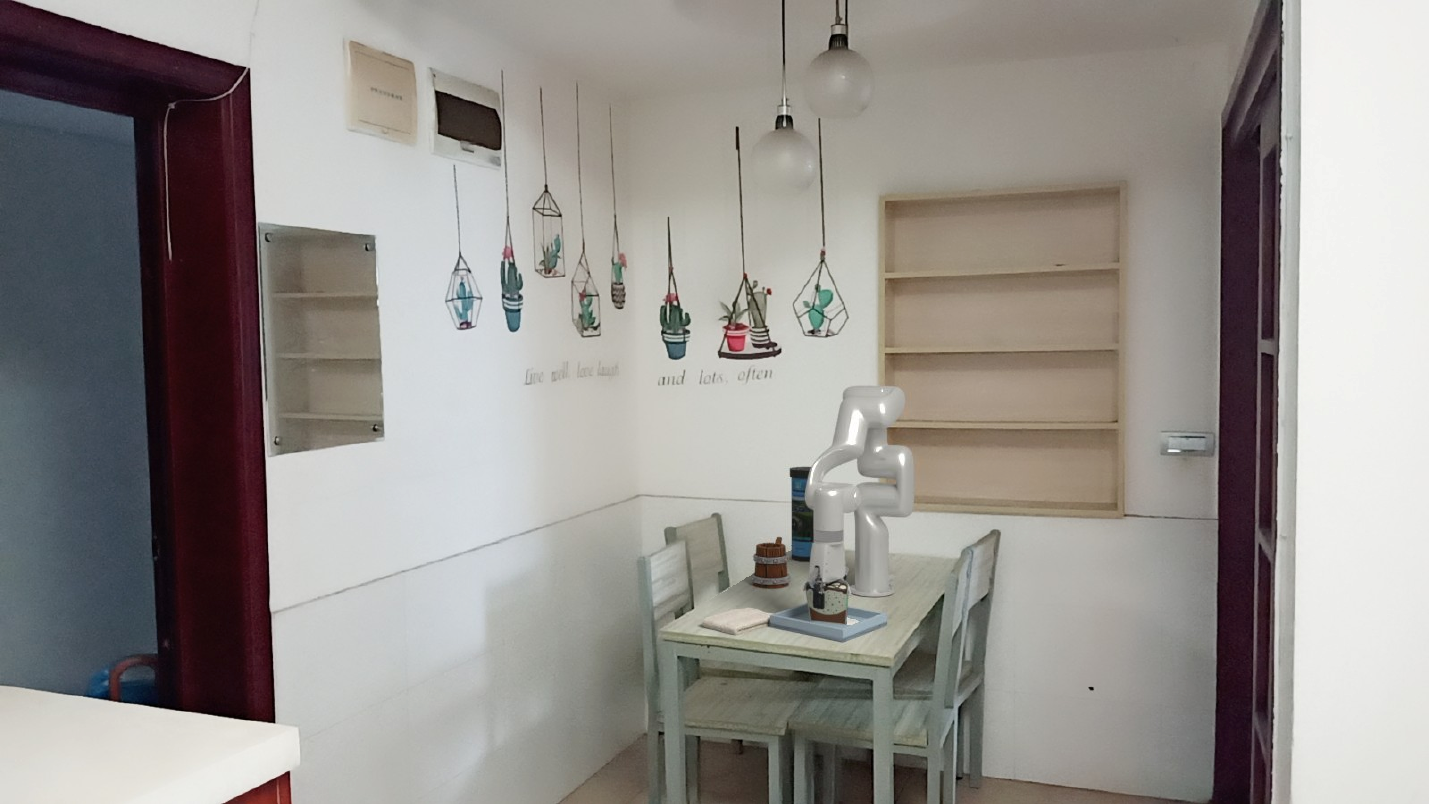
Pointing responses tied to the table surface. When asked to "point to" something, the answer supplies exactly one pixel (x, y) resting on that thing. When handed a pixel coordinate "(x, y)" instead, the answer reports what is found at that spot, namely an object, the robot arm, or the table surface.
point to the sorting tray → (801, 623)
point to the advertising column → (801, 516)
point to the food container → (830, 603)
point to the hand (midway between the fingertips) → (828, 604)
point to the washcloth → (738, 621)
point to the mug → (771, 565)
